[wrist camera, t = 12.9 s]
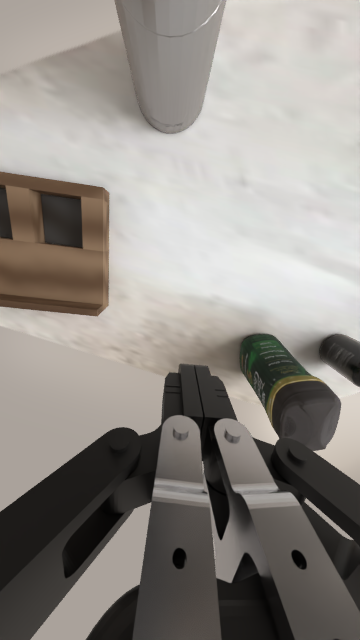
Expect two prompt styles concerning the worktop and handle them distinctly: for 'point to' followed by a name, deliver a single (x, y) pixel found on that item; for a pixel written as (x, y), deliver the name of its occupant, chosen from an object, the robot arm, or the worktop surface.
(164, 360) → the worktop surface
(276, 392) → the coffee jar
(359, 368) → the supplement bottle
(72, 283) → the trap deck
